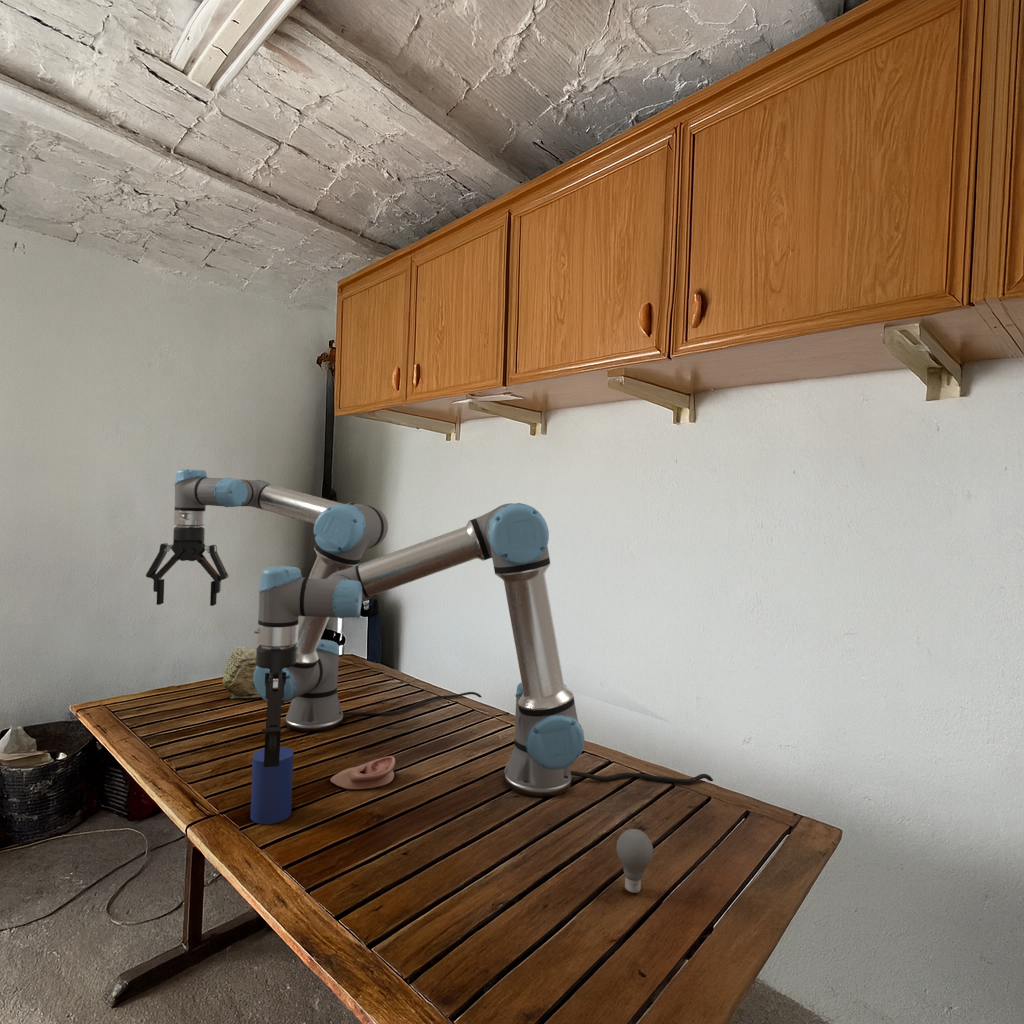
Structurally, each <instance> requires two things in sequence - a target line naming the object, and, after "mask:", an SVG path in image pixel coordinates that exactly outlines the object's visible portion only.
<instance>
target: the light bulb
mask: <svg viewBox="0 0 1024 1024" xmlns="http://www.w3.org/2000/svg"><path fill="white" fill-rule="evenodd" d="M615 849H616V854H617V857H618V859H619V861H620V863H621V865H622V867H623V873H624V874H623V875H624V876H625V878H624V888H625V890H627V891H628V892H630V893H634V894H635V893H639V892H640V891H641V889H642V887H641V886H642V879H643V877H644V875H645V871H646V868H647V867H648V866H649V864H650V863H651V861H652V859H653V855H654V847H653V843H652V841H651V838H649V836H648V835H647V834H646V833H645V832H643V831H642V830H641V829H636V828H629V829H627V830H625V831H623V832H622V833H621V834H620V835H619V837H618V839H617V841H616V847H615Z"/></svg>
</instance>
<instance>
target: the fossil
mask: <svg viewBox="0 0 1024 1024" xmlns="http://www.w3.org/2000/svg"><path fill="white" fill-rule="evenodd" d="M256 651H257V648H251V647H247V646H246V647H245V646H238V647H237V648H236V649H235V650H233V651H232V653H231V656H230V657H229V659H228V660H227V663H226V666H225V668H224V671H223V675H222V676H223V677H222V685H223V687H224V688H225V690H226V691H228V693H229V698H230V699H250V698H262V697H261V696H260V695H259V694H258V692H257V688H256V687H255V685H254V671H255V669H256V667H257V665H256Z"/></svg>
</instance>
